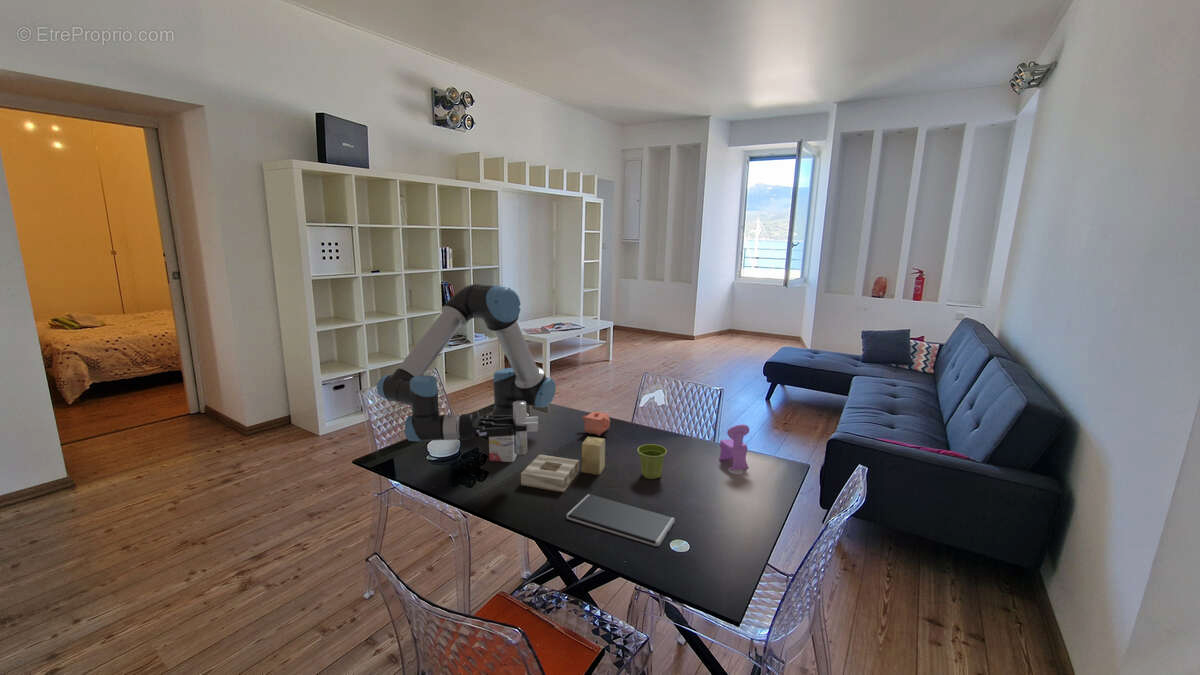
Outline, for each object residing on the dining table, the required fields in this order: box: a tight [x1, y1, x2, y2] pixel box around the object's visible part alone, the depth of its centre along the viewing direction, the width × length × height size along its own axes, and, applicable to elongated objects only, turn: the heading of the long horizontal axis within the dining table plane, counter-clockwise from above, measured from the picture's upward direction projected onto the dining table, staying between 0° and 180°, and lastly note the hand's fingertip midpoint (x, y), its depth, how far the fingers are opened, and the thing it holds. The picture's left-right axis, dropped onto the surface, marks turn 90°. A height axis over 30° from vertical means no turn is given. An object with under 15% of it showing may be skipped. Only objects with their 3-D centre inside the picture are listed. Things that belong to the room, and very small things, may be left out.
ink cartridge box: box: [488, 433, 518, 463], centre depth 168 cm, size 9×5×15 cm, turn 84°
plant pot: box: [637, 443, 668, 480], centre depth 158 cm, size 9×9×9 cm
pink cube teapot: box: [581, 410, 611, 437], centre depth 193 cm, size 8×12×8 cm, turn 63°
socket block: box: [520, 454, 580, 493], centre depth 155 cm, size 14×14×4 cm
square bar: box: [581, 436, 606, 476], centre depth 161 cm, size 6×6×10 cm
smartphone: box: [566, 493, 676, 547], centre depth 133 cm, size 13×27×2 cm, turn 63°
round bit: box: [513, 401, 528, 456], centre depth 150 cm, size 4×4×16 cm
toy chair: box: [718, 424, 750, 471], centre depth 166 cm, size 8×9×15 cm
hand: (537, 423), depth 151 cm, fingers closed on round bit, 4 cm apart
